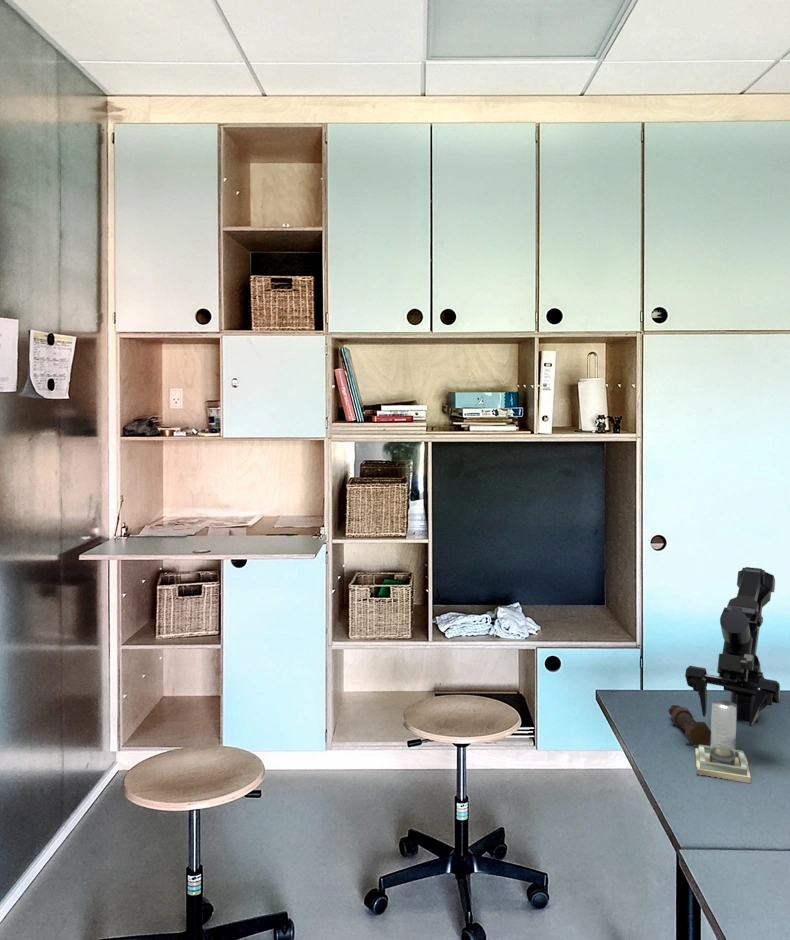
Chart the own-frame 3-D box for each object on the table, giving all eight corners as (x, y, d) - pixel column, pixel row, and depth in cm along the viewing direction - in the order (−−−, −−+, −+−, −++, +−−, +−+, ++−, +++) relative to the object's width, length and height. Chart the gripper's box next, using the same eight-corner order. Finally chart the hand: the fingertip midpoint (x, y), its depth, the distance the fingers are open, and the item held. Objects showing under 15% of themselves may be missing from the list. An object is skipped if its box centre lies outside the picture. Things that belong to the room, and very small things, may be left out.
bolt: (677, 725, 182) (703, 752, 167) (659, 715, 182) (683, 741, 167) (689, 705, 182) (716, 730, 167) (672, 695, 182) (697, 719, 167)
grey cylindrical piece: (705, 756, 160) (708, 699, 159) (729, 756, 160) (731, 699, 159) (714, 767, 155) (717, 709, 154) (738, 767, 155) (741, 709, 154)
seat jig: (695, 753, 164) (695, 742, 164) (745, 760, 160) (746, 750, 160) (696, 774, 154) (697, 763, 154) (750, 783, 151) (750, 771, 151)
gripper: (688, 630, 168) (676, 695, 160) (781, 645, 158) (773, 714, 150) (693, 653, 176) (682, 716, 167) (783, 668, 166) (776, 736, 158)
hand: (726, 720), depth 160 cm, fingers open, 9 cm apart
